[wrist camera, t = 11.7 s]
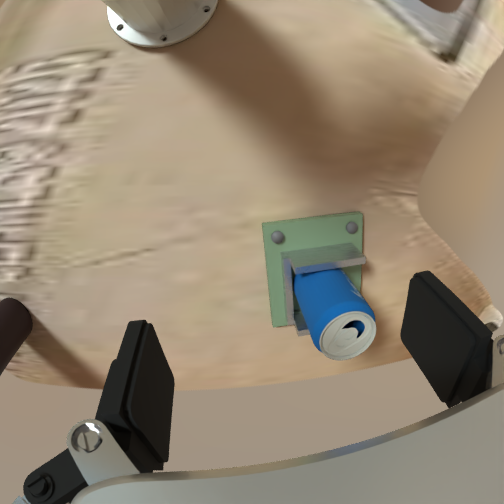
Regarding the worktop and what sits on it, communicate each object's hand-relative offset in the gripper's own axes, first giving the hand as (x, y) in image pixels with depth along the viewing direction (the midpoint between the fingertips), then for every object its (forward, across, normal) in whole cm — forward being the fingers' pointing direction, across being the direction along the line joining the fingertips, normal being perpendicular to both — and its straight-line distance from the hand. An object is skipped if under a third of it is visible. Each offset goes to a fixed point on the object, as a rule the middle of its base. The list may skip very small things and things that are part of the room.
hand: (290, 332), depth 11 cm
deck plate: (+25, -8, +13) cm, 29 cm away
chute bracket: (+24, -8, +14) cm, 29 cm away
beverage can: (+24, -8, +14) cm, 29 cm away
